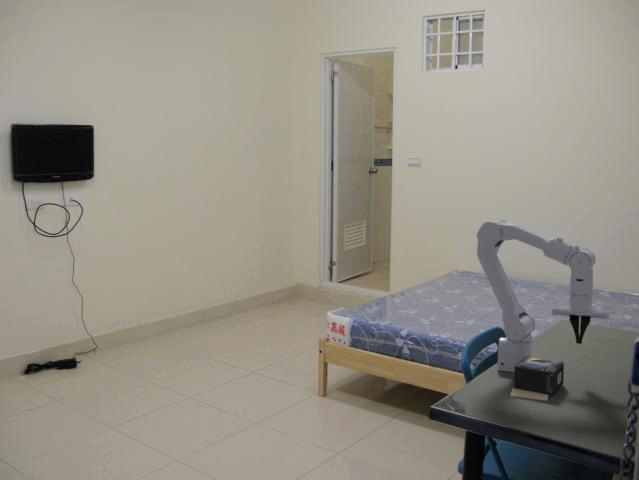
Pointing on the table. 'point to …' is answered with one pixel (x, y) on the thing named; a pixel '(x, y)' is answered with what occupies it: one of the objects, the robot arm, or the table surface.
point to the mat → (528, 394)
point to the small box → (539, 375)
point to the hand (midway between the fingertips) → (579, 342)
